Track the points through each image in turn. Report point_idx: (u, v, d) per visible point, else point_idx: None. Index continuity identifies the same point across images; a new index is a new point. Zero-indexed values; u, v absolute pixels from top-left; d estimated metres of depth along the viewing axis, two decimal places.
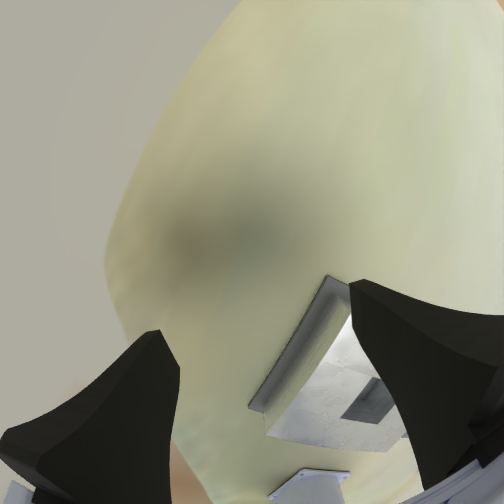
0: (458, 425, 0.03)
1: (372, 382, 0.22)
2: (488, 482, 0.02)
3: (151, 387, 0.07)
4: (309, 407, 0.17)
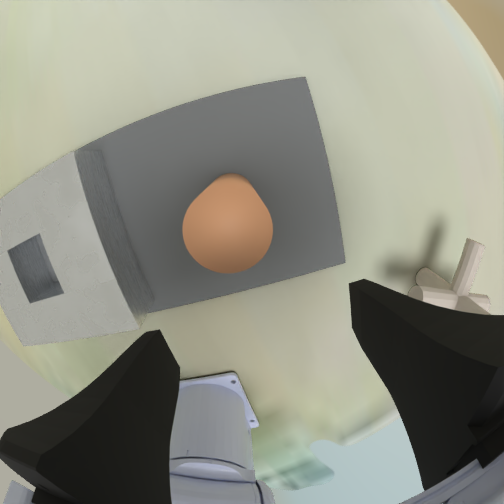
0: (458, 425, 0.03)
1: None
2: (488, 482, 0.02)
3: (151, 387, 0.07)
4: (9, 305, 0.15)
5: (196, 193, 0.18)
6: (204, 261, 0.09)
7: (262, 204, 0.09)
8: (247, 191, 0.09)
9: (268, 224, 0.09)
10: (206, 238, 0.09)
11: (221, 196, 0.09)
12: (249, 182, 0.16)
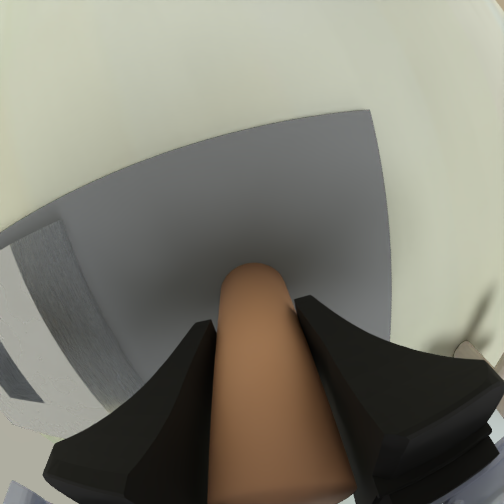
0: (366, 471, 0.03)
1: None
2: (488, 482, 0.02)
3: (210, 380, 0.07)
4: None
5: (202, 290, 0.12)
6: None
7: (350, 484, 0.03)
8: (330, 481, 0.03)
9: (349, 491, 0.03)
10: None
11: (280, 492, 0.03)
12: (285, 291, 0.10)
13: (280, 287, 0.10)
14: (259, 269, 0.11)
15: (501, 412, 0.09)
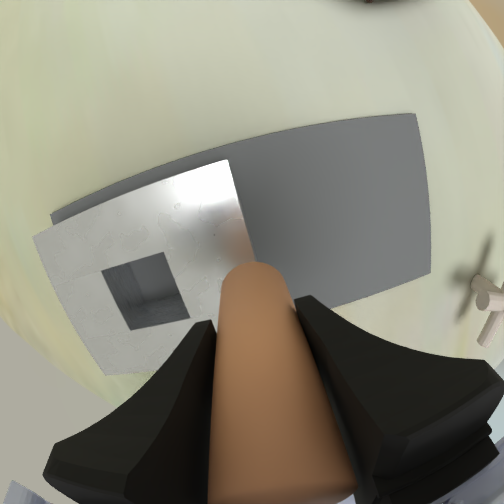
0: (366, 471, 0.03)
1: None
2: (489, 482, 0.02)
3: (210, 380, 0.07)
4: (93, 332, 0.16)
5: (329, 212, 0.19)
6: None
7: (351, 483, 0.03)
8: (331, 479, 0.03)
9: (351, 490, 0.03)
10: None
11: (281, 491, 0.03)
12: (286, 290, 0.10)
13: (280, 286, 0.10)
14: (259, 268, 0.11)
15: None
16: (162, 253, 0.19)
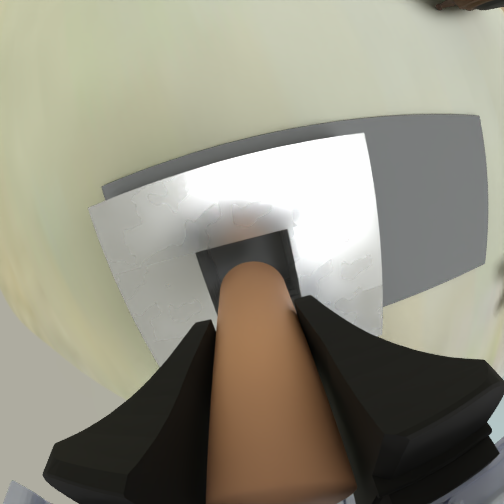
0: (366, 471, 0.03)
1: (277, 250, 0.17)
2: (488, 482, 0.02)
3: (210, 380, 0.07)
4: (166, 333, 0.14)
5: (418, 200, 0.17)
6: None
7: (350, 484, 0.03)
8: (330, 480, 0.03)
9: (349, 490, 0.03)
10: None
11: (279, 491, 0.03)
12: (285, 289, 0.10)
13: (280, 286, 0.10)
14: (259, 268, 0.11)
15: None
16: None
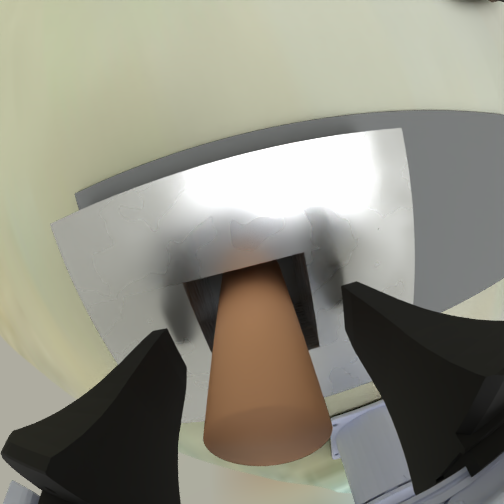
0: (446, 432, 0.03)
1: (286, 271, 0.14)
2: (489, 482, 0.02)
3: (159, 386, 0.07)
4: None
5: (447, 210, 0.13)
6: (235, 460, 0.05)
7: (324, 418, 0.05)
8: (305, 407, 0.05)
9: (326, 431, 0.05)
10: (237, 447, 0.05)
11: (263, 415, 0.05)
12: (279, 271, 0.12)
13: (274, 267, 0.12)
14: None
15: None
16: None
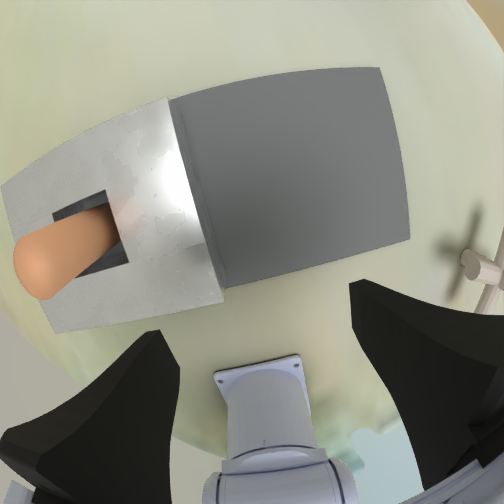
0: (458, 425, 0.03)
1: None
2: (488, 482, 0.02)
3: (151, 387, 0.07)
4: None
5: (284, 161, 0.17)
6: (28, 289, 0.09)
7: (47, 248, 0.09)
8: (38, 238, 0.08)
9: (54, 264, 0.09)
10: (25, 273, 0.09)
11: (26, 243, 0.08)
12: None
13: None
14: None
15: None
16: None
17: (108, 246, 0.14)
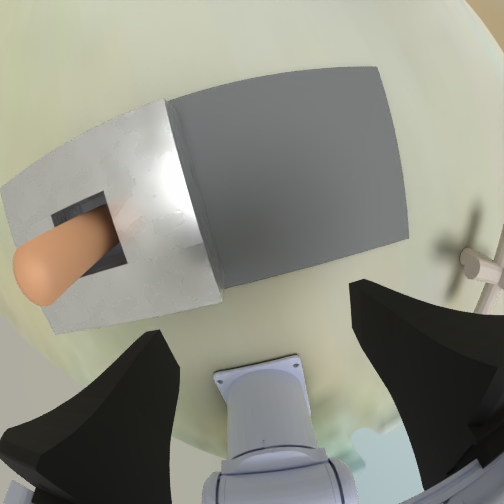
0: (458, 425, 0.03)
1: None
2: (488, 482, 0.02)
3: (151, 387, 0.07)
4: None
5: (282, 161, 0.17)
6: (29, 296, 0.09)
7: (45, 257, 0.09)
8: (36, 247, 0.09)
9: (52, 272, 0.09)
10: (25, 280, 0.09)
11: (25, 251, 0.09)
12: None
13: None
14: (107, 204, 0.17)
15: None
16: None
17: (107, 249, 0.15)
